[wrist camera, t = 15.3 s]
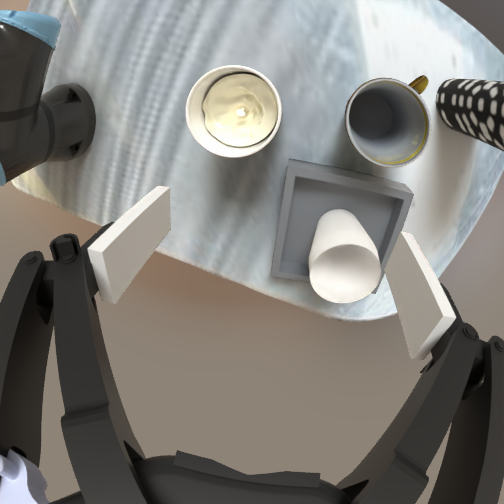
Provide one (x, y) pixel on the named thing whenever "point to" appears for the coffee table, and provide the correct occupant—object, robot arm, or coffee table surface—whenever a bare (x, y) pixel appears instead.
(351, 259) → the cup
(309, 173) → the tray
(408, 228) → the coffee table surface
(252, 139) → the candle holder
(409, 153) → the ceramic cup
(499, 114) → the spotted tube
